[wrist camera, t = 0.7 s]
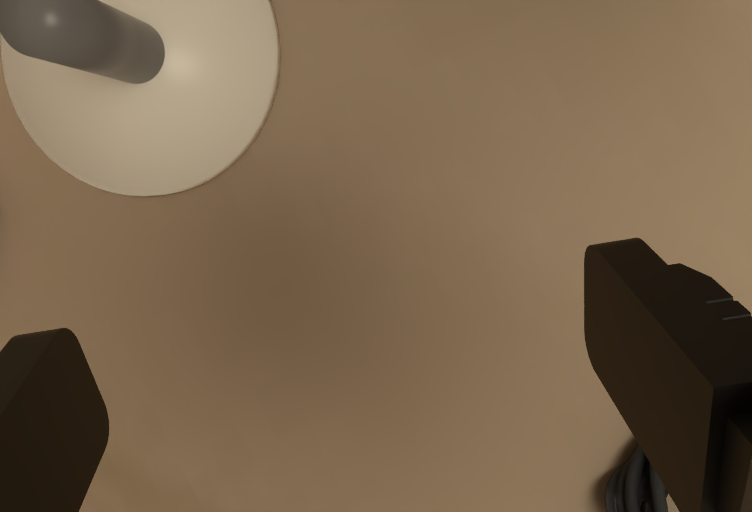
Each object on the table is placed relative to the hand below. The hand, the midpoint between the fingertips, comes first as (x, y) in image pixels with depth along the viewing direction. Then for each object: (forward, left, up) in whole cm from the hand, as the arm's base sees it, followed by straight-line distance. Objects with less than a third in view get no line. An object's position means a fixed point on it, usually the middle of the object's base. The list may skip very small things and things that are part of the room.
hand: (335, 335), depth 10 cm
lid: (-5, -15, -23) cm, 28 cm away
